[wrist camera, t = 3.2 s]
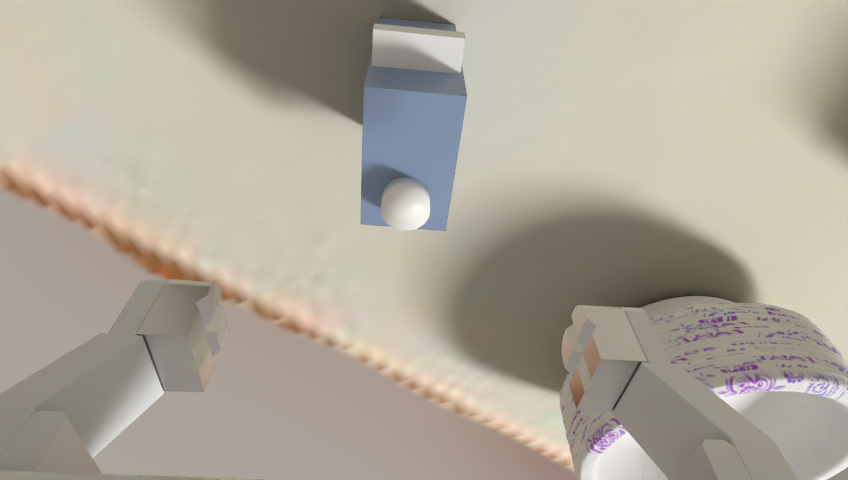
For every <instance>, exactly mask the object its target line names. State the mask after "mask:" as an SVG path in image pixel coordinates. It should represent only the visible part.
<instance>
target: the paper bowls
mask: <svg viewBox="0 0 848 480" xmlns="http://www.w3.org/2000/svg"><path fill="white" fill-rule="evenodd" d="M640 308H642V309H643V310H644V311H645V312H646V314H647V316H648V318H649V320H650V322H651V324H652V326H653V328H654V330H655V332H656V334H657V336H658V338H659V340H660V342H661V344H662V346H663V348H664V350H665V352H666V354H667V356H668V358H669V360H670V362H671V364H678V365H679V366H680V367H682V368H683V369H684V370H685V371H687V372H688V373H689V374H691V375H692V376H693V377H694V378H696V379H697V380H698V381H699V382H701V383H702V384H703V385H704V386H706V387H707V388H708V389H709V390H711V391H712V392H713V393H714V394H716V395H717V396H718V397H719V398H721V399H722V400H723V401H725V402H726V403H727V404H728V405H730V406H731V407H732V408H733V409H735V410H736V411H737V412H738V413H740V414H741V415H742V416H743V417H745V418H746V419H747V420H748V421H750V422H751V423H752V424H753V425H755V426H756V427H757V428H759V429H760V430H761V431H762V432H764V433H765V434H766V435H767V436H769V437H770V438H771V439H772V440H774V441H775V443H776V445H777V446H778V448H779V450H780V451H781V453H782V455H783V457H784V458H785V460H786V462H787V463H788V465H789V467H790V468H791V470H792V472H793V473H794V475H795V477H796V478H797V480H827V479H829V478H831V477H832V476H834V475H835V474H837V473H839V472H840V471H842V470H844V469H845V468H847V467H848V362H847V361H846V360H845V359H844V358H843V356H842V355H841V354H840V353H839V351H838V350H837V348H836V347H835V346H834V345H833V344H832V342H831V341H830V340H829V338H827V336H826V335H824V334H823V333H822V331H821V330H820V329H819V328H818V327H817V326H816V325H815V324H813V323H812V322H811V321H810V320H809V319H807V318H806V317H804V316H803V315H801V314H798V313H796V312H794V311H790V310H786V309H784V308H780V307H776V306H772V305H766V304H760V303H734V302H732V301H729V300H725V299H721V298H716V297H708V296H686V297H676V298H670V299H666V300H662V301H658V302H654V303H651V304H648V305H645V306H643V307H640ZM572 377H573V376H572V375H571V374H570V373H568V374H567V376H566V377H565V379H564V381H563V384H562V388H561V391H560V408H561V412H562V416H563V423H564V426H565V429H566V437H567V440H568V443H569V446H570V452H571V454H572V461H573V464H574V467H575V473H576V477H577V479H578V480H669V479H668V478H667V477H666V476H665V474H664V473H663V472H662V471H661V470H660V469H659V467H658V466H657V465H656V464H655V463H654V462H653V460H652V459H651V458H650V457H649V456H648V455H647V454H646V452H645V451H644V450H643V449H642V448H641V447H640V445H639V444H638V443H637V442H636V441H635V440H634V439H633V437H632V436H631V435H630V434H629V433H628V432H627V430H626V429H625V428H624V427H623V426H622V425H621V424H620V422H619V421H618V420H617V419H616V418H615V417H614V415H613V414H612V413H613V412H606V411H592V410H578V409H576V406H575V403H574V399H573V396H572V392H571V389H570V385H569V384H570V382H571V379H572Z"/></svg>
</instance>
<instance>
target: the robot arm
mask: <svg viewBox="0 0 848 480" xmlns="http://www.w3.org/2000/svg"><path fill="white" fill-rule="evenodd" d="M221 296H222V294H221V290H220V287H219V285H218V284H216V283H209V282H197V281H186V280H174V279H170V280H168V279H157V278H146V279H144V280H143V281H141V282H140V284H139V285H138V287H137V288H136V290H135V292H134V293H133V295H132V296H131V298H130V300H129V301H128V303H127V304H126V306H125V307H124V309H123V310H122V312H121V314H120V315H119V317H118V318H117V320H116V321H115V323H114V325H113V326H112V328H111V329H110V331H109V333H108V334H104V333H103V334H102V333H100V334H99V335H97V336H95V337H94V338H92V339H90V340H89V341H87V342H85V343H84V344H82V345H80V346H79V347H77V348H76V349H74V350H72V351H71V352H69V353H67V354H66V355H64V356H62V357H61V358H59V359H57V360H56V361H54V362H52V363H51V364H49V365H47V366H46V367H44V368H42V369H41V370H39V371H37V372H36V373H34V374H32V375H31V376H29V377H27V378H26V379H24V380H23V381H21V382H19V383H17V384H16V385H14V386H13V387H11V388H9V389H8V390H6V391H4V392H2V393H1V394H0V480H263V479H235V478H206V477H179V476H178V477H177V476H151V475H149V476H148V475H123V474H102V473H101V471H100V470H99V468H98V467H97V465H96V463H95V462H94V460H93V457H94V456H95V455H97V453H99V452H100V451H101V450H102V449H103V448H104V447H105V446H106V445H107V444H109V442H111V441H112V440H113V439H114V438H115V437H116V436H117V435H119V434H120V433H121V432H122V431H123V430H124V429H125V428H126V427H127V426H129V425H130V424H131V423H132V422H133V421H134V420H135V419H136V418H137V417H138V416H139V415H141V414H142V413H143V412H144V411H145V410H146V409H147V408H148V407H149V406H150V405H152V404H153V403H154V402H155V401H156V400H157V399H158V398H159V397H161V396H162V395H163V394H164V391H184V392H204V391H205V389H206V386H207V384H208V381H209V379H210V376H211V374H212V371H213V369H214V364H213V360H212V356H213V355H215V354H216V353H218V352H219V351H220V350H221V348H222V345H223V342H224V339H225V332H226V327H227V322H226V321H227V320H226V313H225V309H224V308H223V307H221V306H220V305H219V304H218V303H219V301H220V299H221ZM571 318H572V321H573V325H571V326H570V327H568V328H567V329H566V330H565V333H564V336H563V338H562V348H561V352H562V360H563V364H564V367H565V369H566V370H567V371H568V372H569V373H570V374H571V375H572V376H573V377H572V379H571V382H570V384H569V385H570V389H571V392H572V396H573V399H574V403H575V406H576V409H578V410H592V411H606V412H613V413H612V414H613V415H614V417H615V418H616V419H617V420H618V421H619V422H620V424H621V425H622V426H623V427H624V428H625V429H626V430H627V432H628V433H629V434H630V435H631V436H632V437H633V439H634V440H635V441H636V442H637V443H638V444H639V445H640V447H641V448H642V449H643V450H644V451H645V452H646V454H647V455H648V456H649V457H650V458H651V459H652V460H653V462H654V463H655V464H656V465H657V466H658V467H659V469H660V470H661V471H662V472H663V473H664V474H665V476H666V477H667V478H668V479H669V480H797V478H796V477H795V475H794V473H793V472H792V470H791V468H790V467H789V465H788V463H787V462H786V460H785V458H784V457H783V455H782V453H781V451H780V450H779V448H778V446H777V445H776V443H775V441H774V440H772V439H771V438H770V437H769V436H767V435H766V434H765V433H764V432H762V431H761V430H760V429H759V428H757V427H756V426H755V425H753V424H752V423H751V422H750V421H748V420H747V419H746V418H745V417H743V416H742V415H741V414H740V413H738V412H737V411H736V410H735V409H733V408H732V407H731V406H730V405H728V404H727V403H726V402H725V401H723V400H722V399H721V398H719V397H718V396H717V395H716V394H714V393H713V392H712V391H711V390H709V389H708V388H707V387H706V386H704V385H703V384H702V383H701V382H699V381H698V380H697V379H696V378H694V377H693V376H692V375H691V374H689V373H688V372H687V371H685V370H684V369H683V368H682V367H680V366H679V365H678V364H671V362H670V360H669V358H668V356H667V354H666V352H665V350H664V348H663V346H662V344H661V342H660V340H659V338H658V336H657V334H656V332H655V330H654V328H653V326H652V324H651V322H650V320H649V318H648V316H647V314H646V312H645V311H644V310H643V309H642V308H630V307H610V306H590V305H577V306H576V307H575V308H574V310H573V313H572V315H571Z"/></svg>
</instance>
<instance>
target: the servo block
mask: <svg viewBox="0 0 848 480" xmlns="http://www.w3.org/2000/svg"><path fill="white" fill-rule="evenodd" d="M464 45H465V34H464V32H456V27H455V24H445V23H435V22H425V21H415V20H406V19H396V18H386V17H380V18H379V23H378V24H376V23H374V27H373V44H372V53H371V57H370V61H369V66H368V70H367V74H366V79H365V83H364V94H363V137H362V181H361V224H362V225H376V226H389V227H393V228H395V229H398V230H404V231H408V230H414V229H428V230H441V231H446V225H447V219H448V212H449V206H450V200H451V194H452V187H453V181H454V175H455V168H456V162H457V156H458V150H459V143H460V137H461V131H462V125H463V118H464V112H465V106H466V99H467V93H466V87H465V81H464V75H463V69H462V58H463V52H464Z"/></svg>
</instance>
